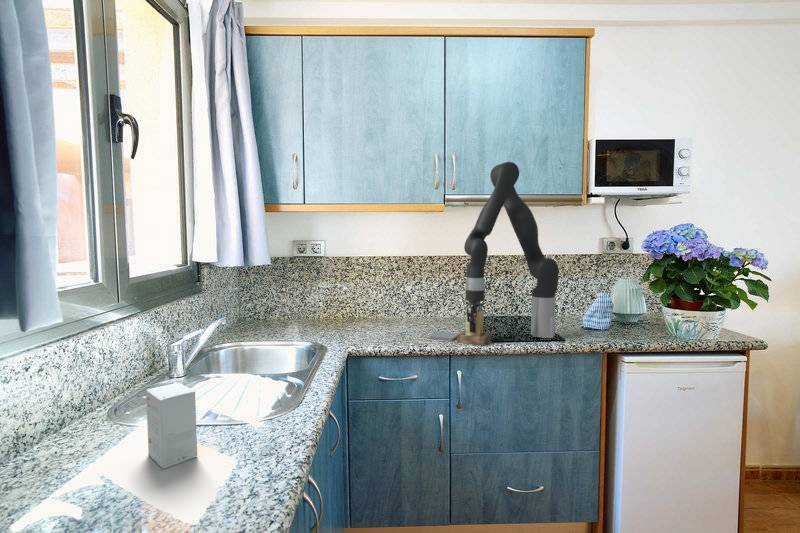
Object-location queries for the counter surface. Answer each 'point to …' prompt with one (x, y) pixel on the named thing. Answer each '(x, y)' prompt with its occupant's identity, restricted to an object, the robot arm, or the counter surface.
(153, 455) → the small box
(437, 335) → the grey flat plate
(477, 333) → the skincare box
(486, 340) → the walnut holder
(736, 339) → the counter surface
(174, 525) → the counter surface
